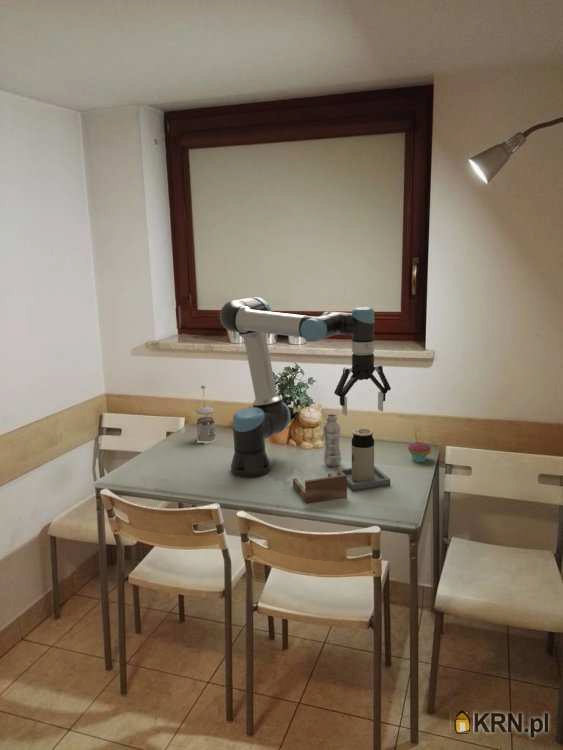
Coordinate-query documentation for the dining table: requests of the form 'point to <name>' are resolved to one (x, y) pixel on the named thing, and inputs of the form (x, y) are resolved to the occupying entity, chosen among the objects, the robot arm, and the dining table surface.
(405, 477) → the dining table surface
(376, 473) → the charcoal tray
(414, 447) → the cupcake
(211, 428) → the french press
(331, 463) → the metal bottle
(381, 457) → the dining table surface
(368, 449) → the travel mug
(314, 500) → the walnut dock
